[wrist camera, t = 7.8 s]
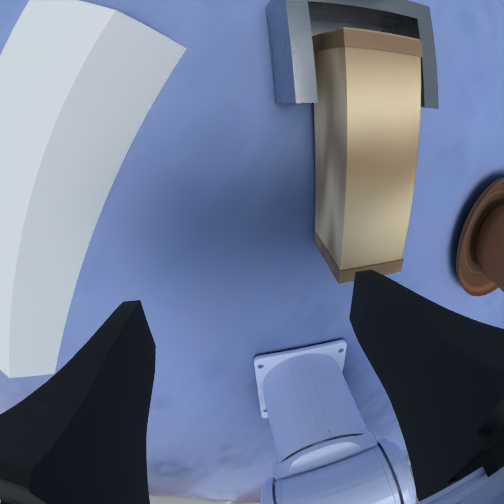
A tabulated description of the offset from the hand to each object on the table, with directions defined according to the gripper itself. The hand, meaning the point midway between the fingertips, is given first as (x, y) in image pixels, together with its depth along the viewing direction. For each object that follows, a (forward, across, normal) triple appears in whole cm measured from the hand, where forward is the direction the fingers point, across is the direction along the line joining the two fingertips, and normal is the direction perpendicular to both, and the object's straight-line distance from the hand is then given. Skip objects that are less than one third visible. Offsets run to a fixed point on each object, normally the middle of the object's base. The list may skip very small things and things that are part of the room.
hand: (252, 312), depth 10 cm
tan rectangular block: (+9, -7, -4) cm, 12 cm away
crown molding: (+11, +15, -2) cm, 19 cm away
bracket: (+10, -7, -10) cm, 16 cm away
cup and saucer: (+10, -24, +4) cm, 26 cm away
